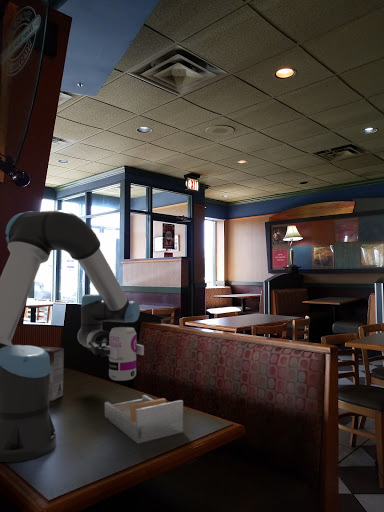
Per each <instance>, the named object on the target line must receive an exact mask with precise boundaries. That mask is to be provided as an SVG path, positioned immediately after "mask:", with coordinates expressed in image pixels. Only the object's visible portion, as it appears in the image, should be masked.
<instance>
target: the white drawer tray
mask: <svg viewBox="0 0 384 512" xmlns="http://www.w3.org/2000/svg"><path fill="white" fill-rule="evenodd" d="M152 400H154V399H153V398H151V397H150V396H148V395H146V394H142V395H141V398H140V399H139V398H138V399H133V400H129V401H128V400H127V401H124V402H118V403H113V404H112V403H111V402H110V401H105V402H104V417H105V418H106V419H107V418H108V419H109V420H108V419H107V420H108V421H110V422H111V423H112V424H113V425H114V426H116V427H117V428H118V429H119V430H120V431H122V432H123V433H124V434H126V435H127V437H129V438H130V439H131V440H132V441H133V442H135V443H137V444H141V443H145V442H149V441H150V442H151V441H154V440H157V439H162V438H165V437H169V436H172V435H177V434H180V433H184V400H182V399H179V400H178V399H177V400H174V401H170V402H166V403H163V404H159V405H154V406H149V407H144V408H139V409H136V422H135V421H134V420H132V419H131V418H130V405H131V404H136V403H142V402H147V401H152Z"/></svg>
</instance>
